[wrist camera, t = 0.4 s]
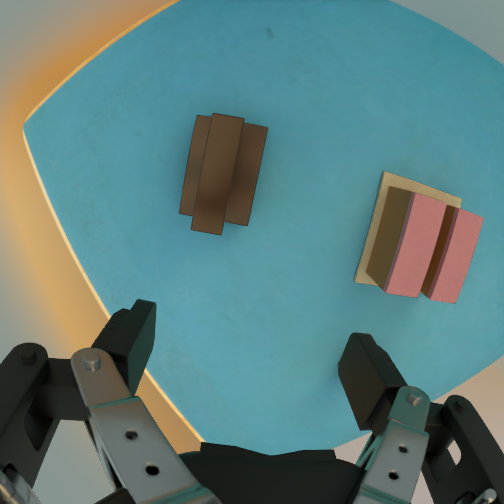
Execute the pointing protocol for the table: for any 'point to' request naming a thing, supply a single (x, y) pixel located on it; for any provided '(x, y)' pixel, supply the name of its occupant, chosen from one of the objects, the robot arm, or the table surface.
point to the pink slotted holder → (418, 241)
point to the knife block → (242, 176)
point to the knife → (217, 173)
